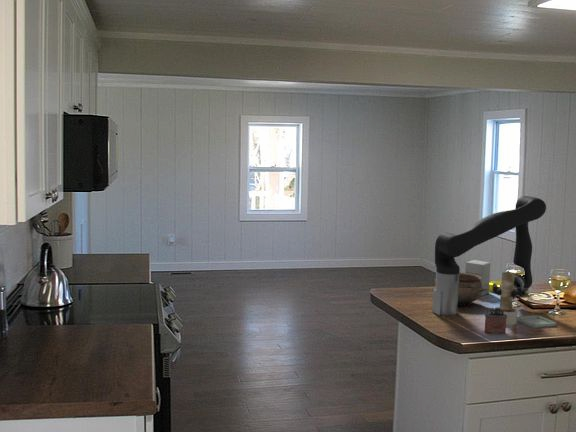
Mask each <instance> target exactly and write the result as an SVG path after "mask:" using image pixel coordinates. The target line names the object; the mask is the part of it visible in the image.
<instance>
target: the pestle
mask: <svg viewBox="0 0 576 432" xmlns="http://www.w3.org/2000/svg"><path fill="white" fill-rule="evenodd" d="M508 272H509V271H508ZM508 272H503V271H502V272H501V281H502V283H501V295H500V298H499V307H500V309H504V312H512V308H513V300H514V299H513V297H512V291H513V289H514V276H515V274H514V273H508Z"/></svg>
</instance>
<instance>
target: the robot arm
mask: <svg viewBox="0 0 576 432" xmlns="http://www.w3.org/2000/svg"><path fill="white" fill-rule="evenodd" d="M546 210H547V204H546V202H545V201H544V200H543V199H541V198H538V197H535V196H530V195H529V196H528V195H522V196H521V197H519V198H518V199H517V201H516V203H515V209H511V210H502V211H498V212H495V213H492V214H489V215H486V216H485V217H482V218H481V219H479V220H478V221H477V222H476V223H475V225H474V226H473V227H472V228H470V229H469V230H466V231H465V232H462V233H458V234H454V233H450V232H442V233H440V234H439V235H438V236H437V237H436V240H435V244H434V264H435V267H436V274H435V279H436V282H435V287H434V289H433V291H432V306H431V308H432V309H431V312H432V313H433V314H436V315H438V316H442V315H444V316H455V315H458V306H459V305H458V289H459V273H460V271H461V269H460V268H461V267H460V265H458V263H457V262H456V259H455V258H458V257H460V256H463V254H465V253H466V252H467V253H468V251H470V250H471V249H473V248H474V247H475V248H476V247H477V246H479V245H481V244H483V243H485V242H487V241H490V240H493V239H494V238H497V237H498V236H501V235H502V234H503V235H504V234H505V233H506V232H509V231H511V230H514V229H515V246H514V253H513V259H512V260H513V264H514V265H515V266H518V267H521V268H522V269H523V272H525V275H523V276H521V275H518V274H515V276H514V289H513V291H512V297H513V298H515V297H520V298H521V297H524V296H525V297H526V296H528V295H529V292H528V289H527V288H529V289H530V287H532V285H533V275H532V268H531V265H532V264H531V262H532V253H533V243H532V239H531V236H530V231H529V230H530V229H529V223H530V222H533V221H536V220H539V219H540V218H542V216H544V214H545V213H546ZM523 277H524V278H523ZM493 292H494V293H493V294H495V293H497V294H496V295H497V296H501V285H500V286H497V285H496V284H493ZM527 294H528V295H527ZM517 295H519V296H517Z"/></svg>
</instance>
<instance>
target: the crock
mask: <svg viewBox="0 0 576 432" xmlns="http://www.w3.org/2000/svg"><path fill="white" fill-rule="evenodd" d="M498 308H499V309H500V306H498ZM518 312H519V310H518V309H515V308H513V307H512V312H504V314H506V315H507V318H506V326H513V325H517V324H518V321H517V317H518Z"/></svg>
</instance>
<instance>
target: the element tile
mask: <svg viewBox="0 0 576 432" xmlns="http://www.w3.org/2000/svg"><path fill="white" fill-rule="evenodd" d="M501 283H502V280H492V281H490V280H489V293H491V294H495V295H498V294H497V293H494V292H493V284H496V285H497V286H500V285H501ZM527 289H528V293H529V291H530V287H529V288H527Z"/></svg>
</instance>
